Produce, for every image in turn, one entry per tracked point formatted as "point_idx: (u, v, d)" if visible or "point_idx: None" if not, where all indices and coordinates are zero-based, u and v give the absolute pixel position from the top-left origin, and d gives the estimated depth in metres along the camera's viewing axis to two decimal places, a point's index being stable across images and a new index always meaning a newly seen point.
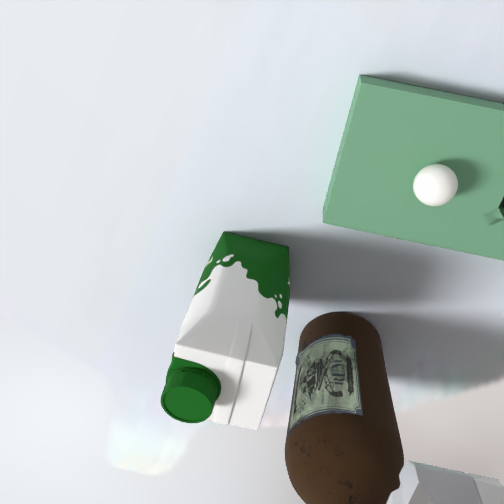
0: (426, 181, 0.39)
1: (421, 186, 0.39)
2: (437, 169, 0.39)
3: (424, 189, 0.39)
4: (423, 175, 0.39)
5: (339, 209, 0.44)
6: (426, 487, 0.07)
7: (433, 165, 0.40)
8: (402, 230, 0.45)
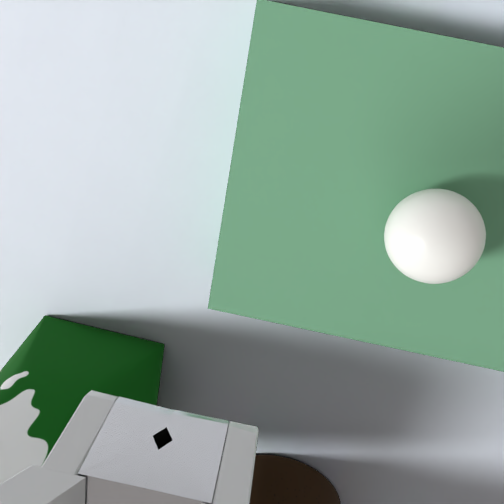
0: (413, 228, 0.16)
1: (402, 239, 0.17)
2: (438, 200, 0.17)
3: (409, 246, 0.17)
4: (405, 214, 0.17)
5: (236, 283, 0.22)
6: (173, 431, 0.08)
7: (427, 191, 0.17)
8: (367, 325, 0.22)
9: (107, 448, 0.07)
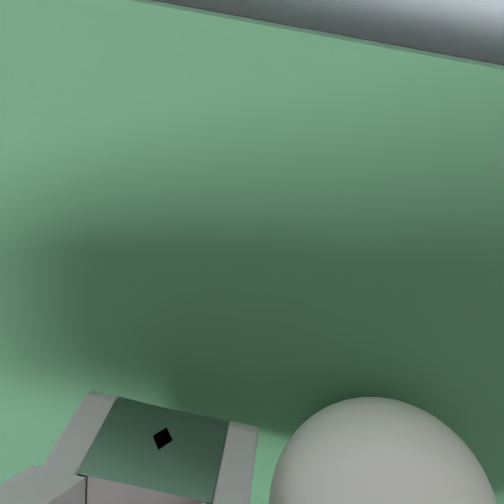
0: None
1: None
2: (417, 489, 0.06)
3: None
4: None
5: None
6: (173, 431, 0.08)
7: (371, 457, 0.07)
8: None
9: (107, 448, 0.07)
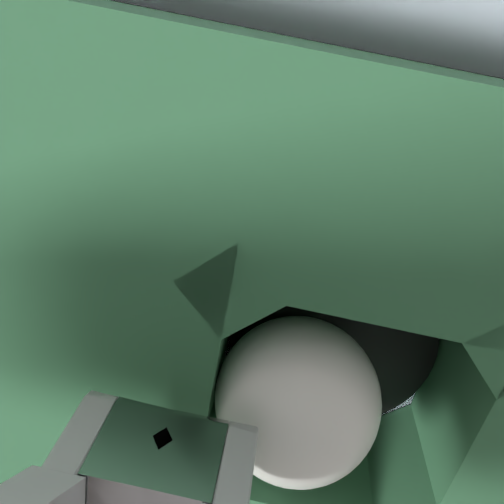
0: None
1: None
2: (281, 326, 0.10)
3: None
4: (258, 327, 0.11)
5: None
6: (173, 431, 0.08)
7: (305, 317, 0.10)
8: None
9: (107, 448, 0.07)
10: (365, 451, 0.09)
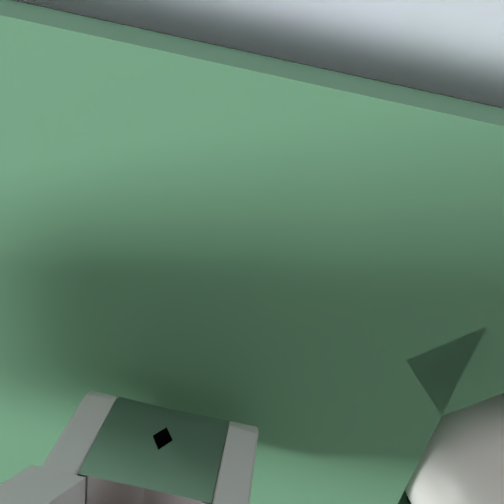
0: None
1: None
2: None
3: None
4: None
5: None
6: (173, 431, 0.08)
7: None
8: None
9: (107, 448, 0.07)
10: None
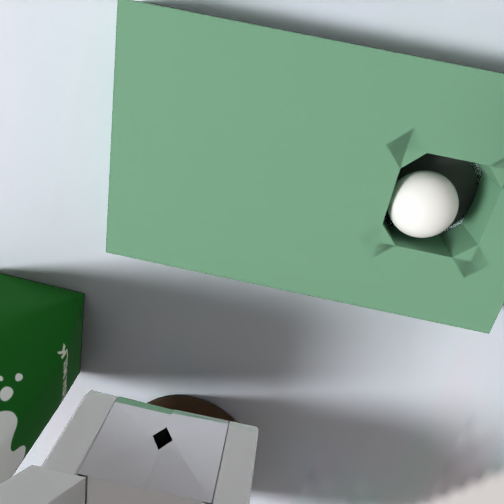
0: None
1: None
2: (418, 172, 0.25)
3: None
4: (401, 179, 0.26)
5: (126, 229, 0.27)
6: (173, 431, 0.08)
7: (424, 170, 0.25)
8: (234, 264, 0.27)
9: (107, 448, 0.07)
10: (454, 215, 0.24)
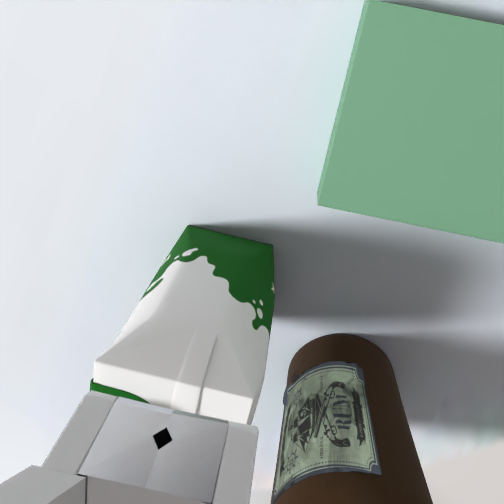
0: None
1: None
2: None
3: None
4: None
5: (339, 185, 0.33)
6: (173, 431, 0.08)
7: None
8: (425, 213, 0.33)
9: (107, 448, 0.07)
10: None
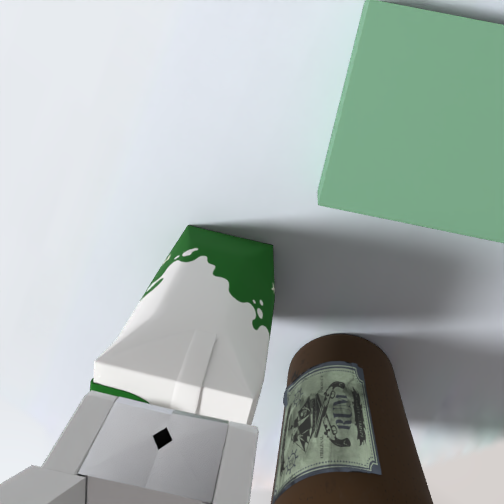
0: None
1: None
2: None
3: None
4: None
5: (339, 185, 0.33)
6: (173, 431, 0.08)
7: None
8: (425, 213, 0.33)
9: (107, 448, 0.07)
10: None
